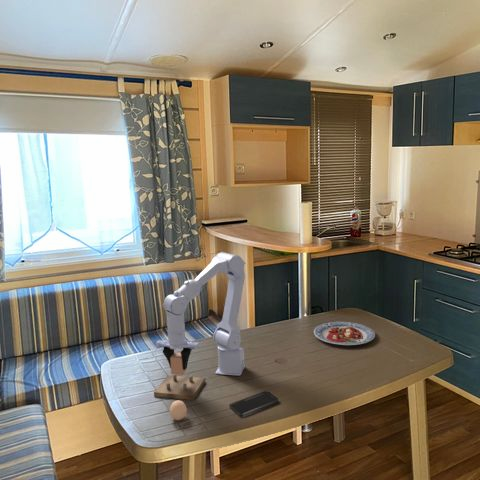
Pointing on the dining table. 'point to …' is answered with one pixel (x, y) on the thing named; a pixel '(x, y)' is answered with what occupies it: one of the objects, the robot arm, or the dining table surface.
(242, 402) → the phone
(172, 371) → the pink block
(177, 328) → the robot arm
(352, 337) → the ceramic plate
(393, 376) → the dining table surface
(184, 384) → the peg stand
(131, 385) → the dining table surface
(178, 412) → the egg
